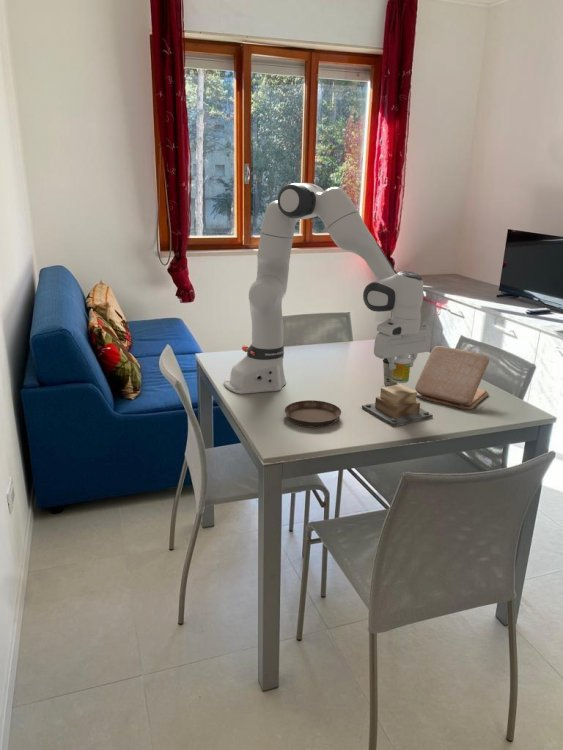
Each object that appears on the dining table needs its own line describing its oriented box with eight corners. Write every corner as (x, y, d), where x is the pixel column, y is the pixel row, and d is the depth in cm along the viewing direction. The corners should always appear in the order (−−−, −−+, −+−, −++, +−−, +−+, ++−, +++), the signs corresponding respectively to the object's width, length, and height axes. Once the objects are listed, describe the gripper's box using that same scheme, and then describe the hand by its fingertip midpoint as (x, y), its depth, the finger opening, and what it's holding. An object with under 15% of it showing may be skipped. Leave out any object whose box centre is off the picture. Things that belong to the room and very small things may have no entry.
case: (411, 397, 203) (416, 353, 198) (436, 381, 219) (441, 340, 214) (468, 413, 192) (476, 366, 186) (490, 395, 208) (497, 352, 202)
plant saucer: (272, 419, 182) (272, 410, 181) (308, 404, 195) (308, 395, 194) (317, 436, 171) (317, 426, 170) (351, 419, 184) (352, 410, 183)
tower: (392, 426, 179) (395, 402, 176) (361, 408, 192) (363, 385, 189) (432, 417, 186) (435, 394, 183) (399, 400, 199) (402, 378, 197)
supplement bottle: (405, 384, 182) (408, 355, 179) (388, 381, 184) (391, 351, 181) (410, 380, 186) (414, 350, 183) (395, 376, 189) (397, 347, 186)
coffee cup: (387, 387, 211) (389, 361, 208) (377, 381, 217) (379, 355, 214) (403, 385, 214) (406, 359, 210) (393, 379, 220) (395, 354, 216)
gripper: (424, 319, 187) (419, 361, 191) (372, 326, 177) (369, 369, 182) (437, 324, 182) (433, 366, 186) (385, 331, 172) (381, 375, 177)
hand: (401, 368), depth 184 cm, fingers closed on supplement bottle, 5 cm apart
